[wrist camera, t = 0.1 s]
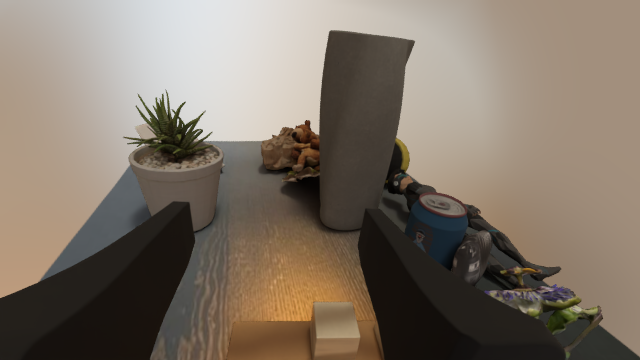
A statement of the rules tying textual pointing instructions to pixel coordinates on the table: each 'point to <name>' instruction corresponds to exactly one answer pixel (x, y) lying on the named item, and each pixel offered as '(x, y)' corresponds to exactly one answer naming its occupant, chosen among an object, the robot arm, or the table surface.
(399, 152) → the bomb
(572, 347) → the passion flower
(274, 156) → the stone
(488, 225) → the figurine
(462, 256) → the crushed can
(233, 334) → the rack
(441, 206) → the soda can
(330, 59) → the vase
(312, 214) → the table surface
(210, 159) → the potted plant
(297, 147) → the bear figurine
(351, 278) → the table surface
